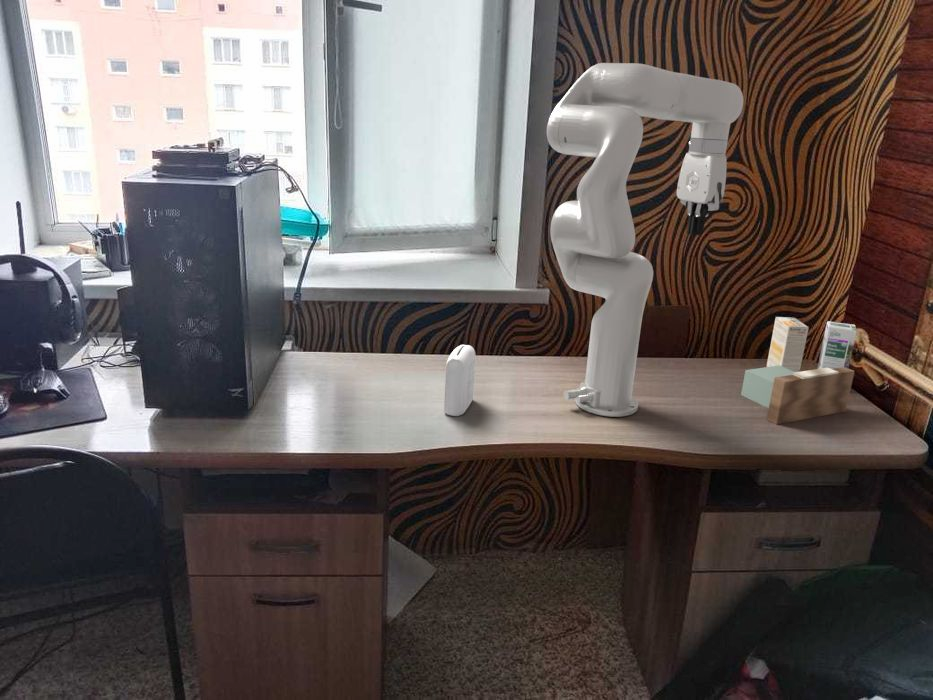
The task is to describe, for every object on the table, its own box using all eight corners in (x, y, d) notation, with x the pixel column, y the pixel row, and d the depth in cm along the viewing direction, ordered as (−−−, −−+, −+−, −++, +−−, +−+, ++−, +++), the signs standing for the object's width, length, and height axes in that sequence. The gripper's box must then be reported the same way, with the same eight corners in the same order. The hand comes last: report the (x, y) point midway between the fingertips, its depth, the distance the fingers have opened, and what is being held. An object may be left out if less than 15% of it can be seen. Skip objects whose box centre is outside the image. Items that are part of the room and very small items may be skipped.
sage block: (784, 417, 151) (790, 390, 149) (740, 396, 161) (745, 370, 160) (819, 411, 156) (825, 384, 154) (774, 390, 166) (779, 365, 164)
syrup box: (815, 387, 168) (828, 326, 164) (814, 379, 174) (827, 319, 169) (843, 392, 166) (857, 330, 162) (841, 383, 172) (855, 323, 167)
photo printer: (454, 396, 152) (457, 338, 148) (475, 399, 151) (478, 341, 147) (440, 415, 142) (443, 354, 138) (462, 418, 141) (466, 357, 138)
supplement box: (798, 381, 172) (810, 327, 167) (778, 380, 172) (788, 325, 167) (785, 369, 179) (795, 317, 175) (765, 368, 179) (775, 315, 175)
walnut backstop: (776, 424, 147) (785, 380, 144) (766, 419, 149) (774, 375, 146) (845, 411, 155) (855, 369, 152) (834, 406, 157) (844, 365, 154)
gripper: (670, 144, 162) (658, 228, 168) (719, 150, 150) (705, 241, 155) (696, 145, 165) (684, 228, 171) (747, 151, 153) (732, 240, 159)
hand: (694, 234), depth 163 cm, fingers closed
